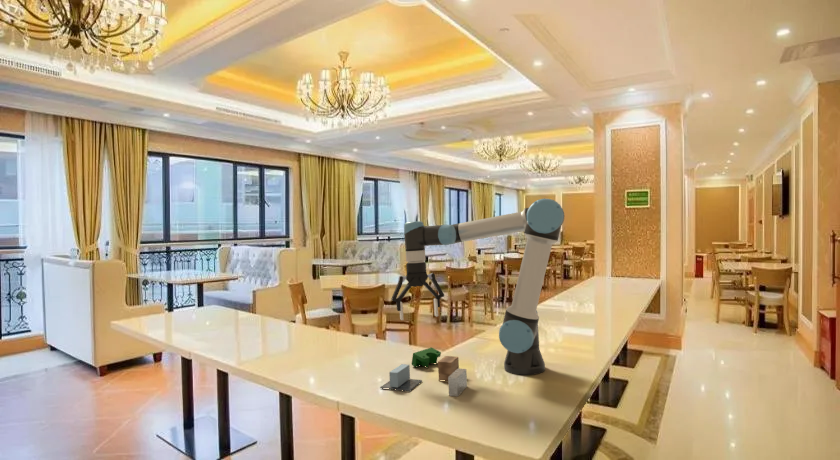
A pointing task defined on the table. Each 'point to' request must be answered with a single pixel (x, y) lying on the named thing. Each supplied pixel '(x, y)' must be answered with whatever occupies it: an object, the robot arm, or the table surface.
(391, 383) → the blue-gray rectangular block
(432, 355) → the clamp
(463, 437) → the table surface
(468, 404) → the table surface
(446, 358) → the block
